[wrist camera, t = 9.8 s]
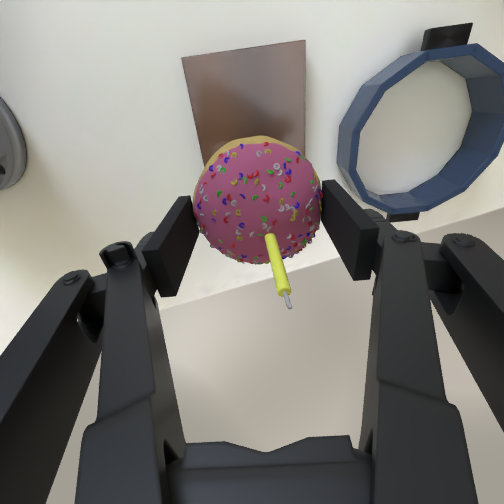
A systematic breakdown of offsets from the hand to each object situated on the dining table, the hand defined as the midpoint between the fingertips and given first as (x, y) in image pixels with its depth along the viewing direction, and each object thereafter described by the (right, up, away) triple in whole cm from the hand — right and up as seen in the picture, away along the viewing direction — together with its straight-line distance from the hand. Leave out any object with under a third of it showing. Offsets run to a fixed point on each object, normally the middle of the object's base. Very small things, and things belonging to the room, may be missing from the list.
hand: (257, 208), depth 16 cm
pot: (+18, +11, +13) cm, 24 cm away
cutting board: (0, +9, +14) cm, 17 cm away
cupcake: (0, +3, +4) cm, 5 cm away
